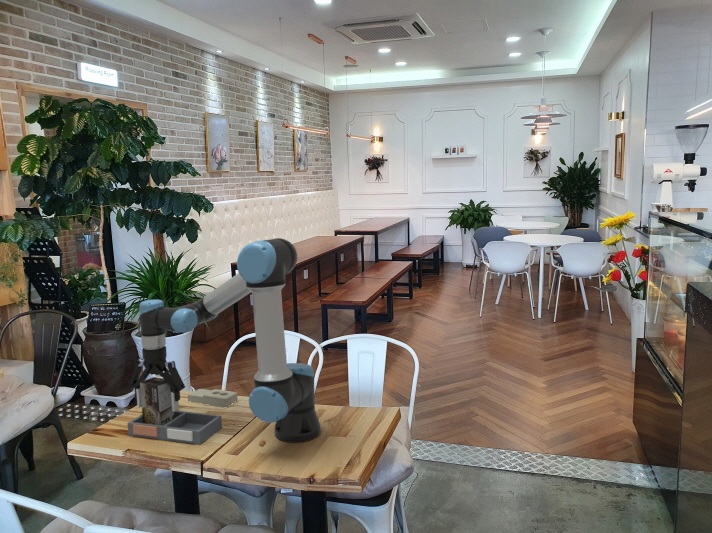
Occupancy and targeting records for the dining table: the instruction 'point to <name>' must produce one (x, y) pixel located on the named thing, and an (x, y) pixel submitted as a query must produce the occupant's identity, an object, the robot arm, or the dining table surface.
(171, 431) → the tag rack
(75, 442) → the dining table surface
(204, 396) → the electrical outlet
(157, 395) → the coffee box
